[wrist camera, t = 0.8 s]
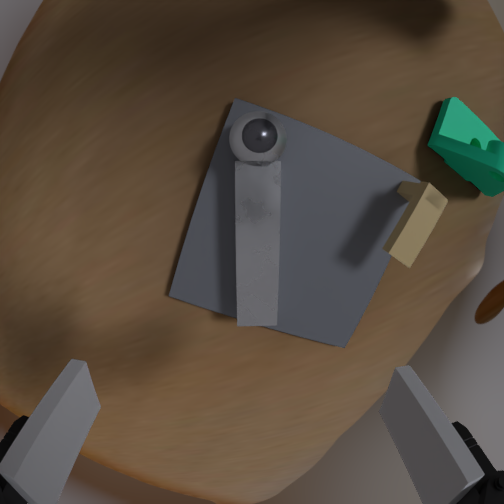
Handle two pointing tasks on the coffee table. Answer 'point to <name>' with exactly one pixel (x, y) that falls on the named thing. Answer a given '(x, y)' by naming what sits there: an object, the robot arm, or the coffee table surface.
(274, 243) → the link
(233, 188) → the plate
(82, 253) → the coffee table surface
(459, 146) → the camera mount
